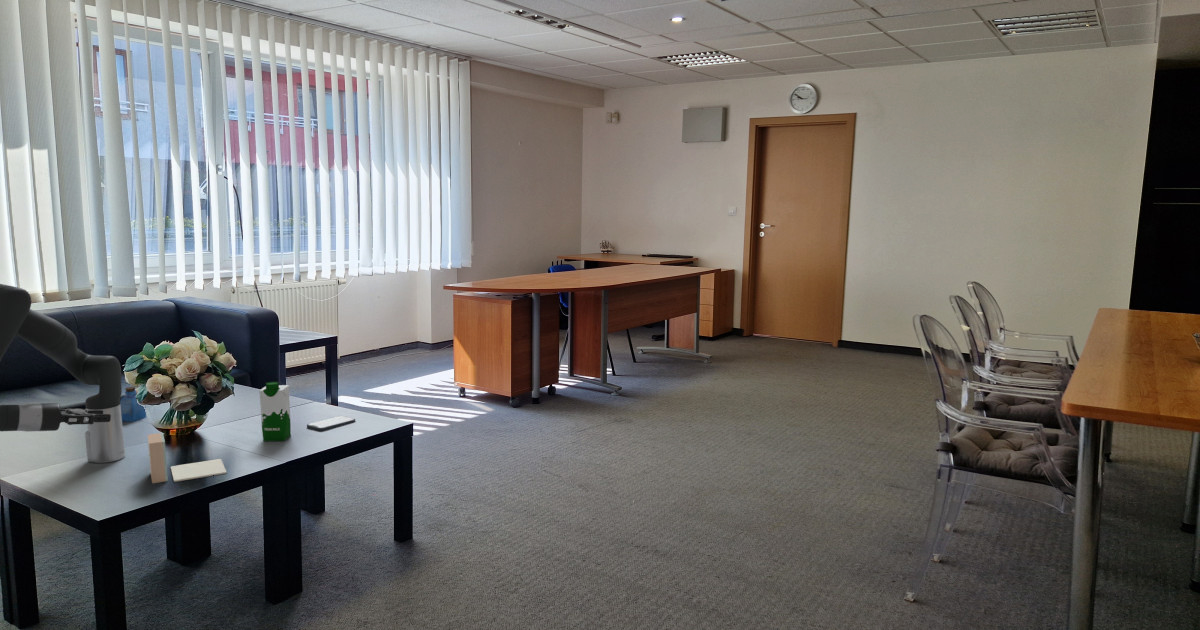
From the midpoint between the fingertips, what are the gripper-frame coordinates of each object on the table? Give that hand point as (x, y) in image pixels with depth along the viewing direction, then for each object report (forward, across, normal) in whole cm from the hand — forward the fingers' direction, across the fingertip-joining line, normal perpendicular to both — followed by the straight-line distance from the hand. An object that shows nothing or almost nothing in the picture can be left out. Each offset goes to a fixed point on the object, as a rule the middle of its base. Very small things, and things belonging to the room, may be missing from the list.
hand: (106, 415), depth 224 cm
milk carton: (+55, +12, +11) cm, 57 cm away
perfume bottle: (+25, +72, +12) cm, 78 cm away
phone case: (+76, +15, +8) cm, 78 cm away
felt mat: (+25, -4, +17) cm, 30 cm away
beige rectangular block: (+15, -2, +18) cm, 23 cm away
